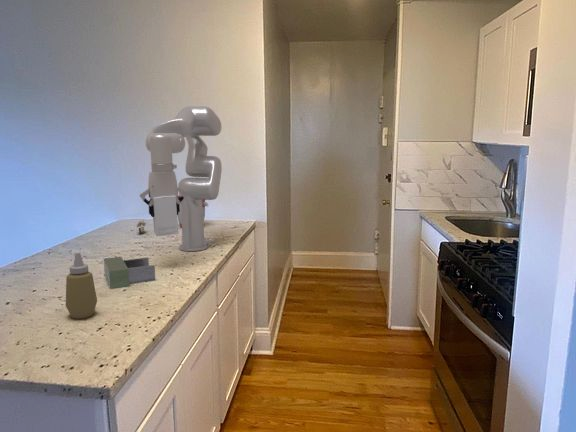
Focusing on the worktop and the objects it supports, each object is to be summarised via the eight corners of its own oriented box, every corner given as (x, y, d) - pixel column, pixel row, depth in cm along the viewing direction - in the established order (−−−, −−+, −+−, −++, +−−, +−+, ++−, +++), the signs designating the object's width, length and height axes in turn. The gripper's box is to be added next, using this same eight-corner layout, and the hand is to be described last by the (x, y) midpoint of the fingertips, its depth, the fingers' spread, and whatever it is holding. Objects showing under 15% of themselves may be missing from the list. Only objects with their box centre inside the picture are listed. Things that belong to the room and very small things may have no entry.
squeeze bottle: (73, 310, 129) (68, 249, 126) (102, 309, 130) (97, 249, 127) (61, 321, 121) (56, 257, 118) (92, 320, 122) (87, 257, 119)
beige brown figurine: (154, 230, 239) (154, 218, 238) (152, 237, 222) (152, 224, 220) (131, 231, 236) (130, 218, 235) (127, 238, 219) (126, 225, 218)
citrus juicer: (206, 230, 238) (205, 192, 235) (173, 229, 239) (172, 192, 235) (211, 224, 254) (210, 189, 250) (180, 223, 254) (179, 189, 250)
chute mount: (147, 269, 168) (146, 253, 167) (156, 282, 154) (156, 265, 153) (104, 274, 162) (103, 258, 161) (110, 288, 147) (109, 271, 146)
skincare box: (175, 231, 172) (173, 192, 169) (178, 234, 167) (177, 195, 164) (152, 233, 169) (150, 194, 166) (155, 236, 163) (153, 196, 160)
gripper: (183, 166, 170) (185, 211, 173) (135, 168, 162) (138, 215, 166) (188, 168, 163) (190, 215, 167) (139, 170, 155) (142, 219, 159)
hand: (164, 215), depth 166 cm, fingers closed on skincare box, 8 cm apart
